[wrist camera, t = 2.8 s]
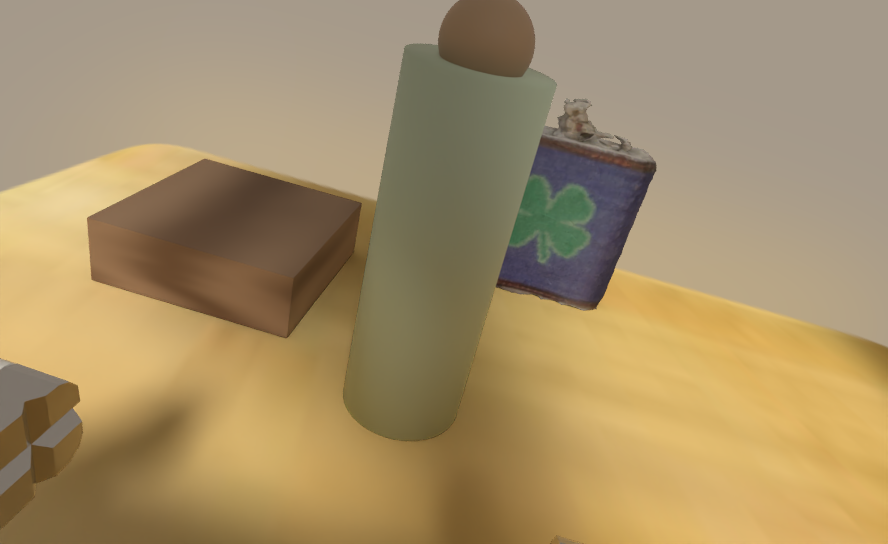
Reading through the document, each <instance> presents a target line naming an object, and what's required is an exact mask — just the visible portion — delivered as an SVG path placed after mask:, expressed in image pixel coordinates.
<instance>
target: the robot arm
mask: <svg viewBox="0 0 888 544" xmlns="http://www.w3.org/2000/svg"><path fill="white" fill-rule="evenodd" d="M79 402H80V396H79V390H78V385H75V384H73V383H71V382H68V381H66V380H63V379H60V378H57V377H54V376H51V375H48V374H45V373H43V372H40V371H37V370H34V369H31V368H28V367H25V366H22V365H20V364H16V363H13V362H10V361H7V360H4V359H1V358H0V530H1V529H2V528H3V527H4V526H5V525H6V524H7V523H8V522H9V521H10V520H11V519H12V518H13V517H14V516H15V515H16V514H18V513H19V512H20V511H21V510H22V509H23V508H24V507H25V506H26V505H27V504H28V503H29V502H30V501H31V500H32V499H33V498H34V497H35V491H36V484H37V483H39V482H42V481H45V480H47V479H50V478H52V477H55V476H57V475H58V474H59V473H60V472H61V471H62V470H63V469H64V468H65V467H66V466H67V465H68V464H69V463H70V461H71V459H72V458H73V456H74V454H75V453H76V451H77V449H78V448H79V446H80V442H81V438H82V434H83V428H82V420H81V419H80V418H79V416H78V415H77V414H76V412H75V411H74V409H73V407H74V406H75V405H77V404H78V403H79ZM550 544H583V543H580V542H577V541H574V540H570V539H567V538H564V537H560V536H557V535H556V536H555V537H554V538H553V539H552V541H551V543H550Z"/></svg>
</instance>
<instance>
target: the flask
mask: <svg viewBox="0 0 888 544" xmlns="http://www.w3.org/2000/svg"><path fill="white" fill-rule="evenodd" d="M565 103H566V104H565V105H564V110H565V114H564V115H563V116H560V117H558V120H559V128H558V129H557V128H552V127H547V126H544V129H543V132H542V136H541V139H540V142H539V145H538V149H537V152H536V155H535V159H534V162H533V165H532V168H531V172H530V175H529V178H528V182H527V185H526V188H525V191H524V195H523V198H522V201H521V205H520V208H519V211H518V214H517V218H516V221H515V224H514V228H513V231H512V234H511V237H510V241H509V244H508V247H507V251H506V254H505V257H504V260H503V264H502V267H501V270H500V274H499V277H498V280H497V283H496V287H497V288H498V287H499V288H501V289H503V290H507V291H510V292H514V293H518V294H533V295H534V294H535V295H537V296H539V298H540V299H551V300H555V301H557V302H559V303H560V304H561V305H562V304H564V305H571V306H573V307H576V308H578V309H580V310H591V309H592V310H593V309H596V307H597V305H598V303H599V302H600V300H601V299H602V298H603V296H604V294H605V291H606V289H607V286H608V284H609V281H610V279H611V277H612V274H613V272H614V269H615V266H616V263H617V261H618V259H619V257H620V255H621V253H622V250H623V247H624V245H625V242H626V239H627V237H628V234H629V232H630V230H631V228H632V226H633V224H634V221H635V218H636V215H637V212H638V211H639V208H640V206H641V204H642V201H643V200H644V197H645V195H646V192H647V189H648V186H649V184H650V182H651V180H652V179H653V175H654V173H655V172H656V162H655V161H654V160H653V158H652V157H651V156H650V155H649V154H648V153H647V152H646V151H645V150H643V149H639V148H633V147H632V146H631V144H630V142H628V140H627V139H625V138H623V137H618V136H615V137H616V138H617V139H619V140H620V141H621V143H622V144H621V145H620V144H617V143H614V142H611V141H607V140H604V139H601V138H612V139H613V138H614V136H612V135H611V134H608V133H602V132H598V131H597V129H596V128H595V127H594V126H593V125H592V123H591V121H588V117H587V113H586V110H587V108H588V107H590V106H592V105H591V102H590V101H589V100H588V99H574V102H570V100H569V99H566V100H565Z"/></svg>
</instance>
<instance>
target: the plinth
mask: <svg viewBox="0 0 888 544" xmlns="http://www.w3.org/2000/svg"><path fill="white" fill-rule="evenodd" d="M361 204H362V203H360V202H356V201H353V200H349V199H345V198H342V197H338V196H335V195H331V194H328V193H324V192H321V191H317V190H314V189H310V188H307V187H303V186H300V185H296V184H292V183H289V182H285V181H282V180H278V179H275V178H271V177H268V176H264V175H261V174H257V173H254V172H250V171H246V170H243V169H239V168H236V167H232V166H229V165H225V164H222V163H218V162H215V161H211V160H208V159H203V160H201V161H199V162H197V163H195V164H193V165H191V166H189V167H187V168H185V169H183V170H181V171H179V172H177V173H175V174H173V175H171V176H169V177H167V178H165V179H163V180H161V181H159V182H157V183H155V184H153V185H151V186H149V187H147V188H145V189H143V190H141V191H139V192H137V193H135V194H133V195H131V196H129V197H127V198H125V199H123V200H121V201H119V202H117V203H115V204H113V205H111V206H109V207H107V208H106V209H104V210H102V211H100V212H98V213H96V214H94V215H92V216H90V217H88V218H87V223H88V236H89V250H90V263H91V276H92V280H95V281H98V282H101V283H105V284H108V285H111V286H115V287H118V288H121V289H125V290H128V291H131V292H135V293H138V294H141V295H145V296H148V297H151V298H155V299H158V300H161V301H165V302H168V303H171V304H175V305H178V306H181V307H185V308H188V309H191V310H195V311H198V312H201V313H205V314H208V315H211V316H215V317H218V318H221V319H224V320H228V321H231V322H234V323H238V324H241V325H244V326H248V327H251V328H254V329H258V330H261V331H264V332H268V333H271V334H274V335H278V336H281V337H284V338H287V337H288V336H289V334H290V333H291V332H292V331H293V329H294V328H295V327H296V325H297V324H298V323H299V322H300V320H301V319H302V318H303V316H304V315H305V314H306V313H307V311H308V310H309V309H310V307H311V306H312V305H313V304H314V302H315V301H316V300H317V298H318V297H319V296H320V295H321V293H322V292H323V291H324V289H325V288H326V287H327V286H328V284H329V283H330V282H331V280H332V279H333V278H334V277H335V275H336V274H337V273H338V271H339V270H340V269H341V268H342V266H343V265H344V264H345V262H346V261H347V260H348V258H349V257H350V256H351V255H352V253H353V252H354V247H355V241H356V235H357V228H358V222H359V216H360V210H361Z"/></svg>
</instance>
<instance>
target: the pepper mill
mask: <svg viewBox="0 0 888 544" xmlns="http://www.w3.org/2000/svg"><path fill="white" fill-rule="evenodd" d="M534 49H535V34H534V28H533V25H532V21H531V19H530V17H529V15H528V14H527V12H526V10H525V9H524V8H523V7H522V5H521V4H520V3H519V2H518V1H516V0H459V1H458V2H456V3H455V4H454V6H452V7H451V9H450V10H449V11H448V13H447V14H446V16H445V18H444V20H443V22H442V25H441V28H440V31H439V38H438V45H432V44H409V45H406V46H405V48H404V53H403V59H402V64H401V70H400V76H399V81H398V87H397V93H396V98H395V104H394V109H393V115H392V121H391V126H390V132H389V138H388V143H387V148H386V154H385V160H384V166H383V171H382V176H381V182H380V188H379V194H378V199H377V204H376V210H375V216H374V221H373V227H372V232H371V238H370V244H369V249H368V255H367V260H366V266H365V272H364V277H363V283H362V288H361V294H360V300H359V305H358V311H357V316H356V322H355V328H354V333H353V339H352V344H351V350H350V356H349V361H348V367H347V372H346V378H345V384H344V389H343V398H344V403H345V405H346V408H347V410H348V411H349V413H350V414H351V415H352V417H353V418H354V419H355V420H356V421H357V422H358V423H359V424H361V425H362V426H363V427H365V428H366V429H368V430H370V431H372V432H374V433H376V434H378V435H381V436H383V437H386V438H390V439H394V440H401V441H419V440H426V439H429V438H433V437H435V436H438V435H439V434H441V433H443V432H444V431H446V430H447V429H448V428H449V427H450V426H451V425H452V423H453V422H454V420H455V418H456V415H457V412H458V408H459V405H460V402H461V399H462V395H463V392H464V389H465V385H466V382H467V379H468V376H469V372H470V369H471V366H472V362H473V359H474V356H475V353H476V349H477V346H478V343H479V339H480V336H481V333H482V329H483V326H484V323H485V320H486V316H487V313H488V310H489V306H490V303H491V300H492V297H493V293H494V290H495V287H496V283H497V280H498V277H499V274H500V270H501V267H502V264H503V260H504V257H505V254H506V251H507V247H508V244H509V241H510V237H511V234H512V231H513V228H514V224H515V221H516V218H517V214H518V211H519V208H520V205H521V201H522V198H523V195H524V191H525V188H526V185H527V182H528V178H529V175H530V172H531V168H532V165H533V162H534V159H535V155H536V152H537V149H538V145H539V142H540V139H541V136H542V132H543V129H544V126H545V122H546V119H547V115H548V113H549V109H550V106H551V103H552V99H553V96H554V93H555V90H556V86H557V84H556V82H555V81H554V80H553V79H551V78H550V77H548V76H546V75H544V74H542V73H540V72H538V71H536V70H533V69H531V68H528V67H529V65H530V63H531V60H532V57H533V54H534Z"/></svg>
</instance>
